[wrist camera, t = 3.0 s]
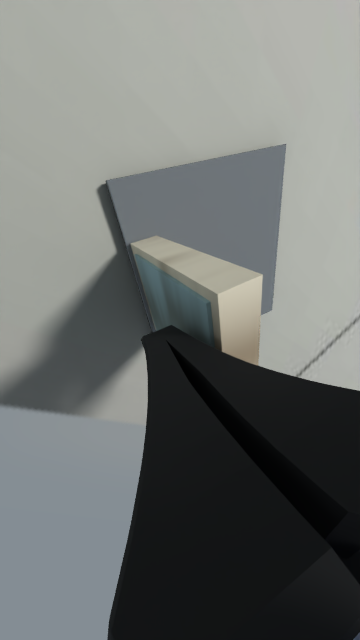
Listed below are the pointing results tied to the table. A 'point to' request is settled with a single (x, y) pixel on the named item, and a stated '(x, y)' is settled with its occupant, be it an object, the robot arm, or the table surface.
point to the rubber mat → (209, 211)
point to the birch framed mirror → (201, 296)
